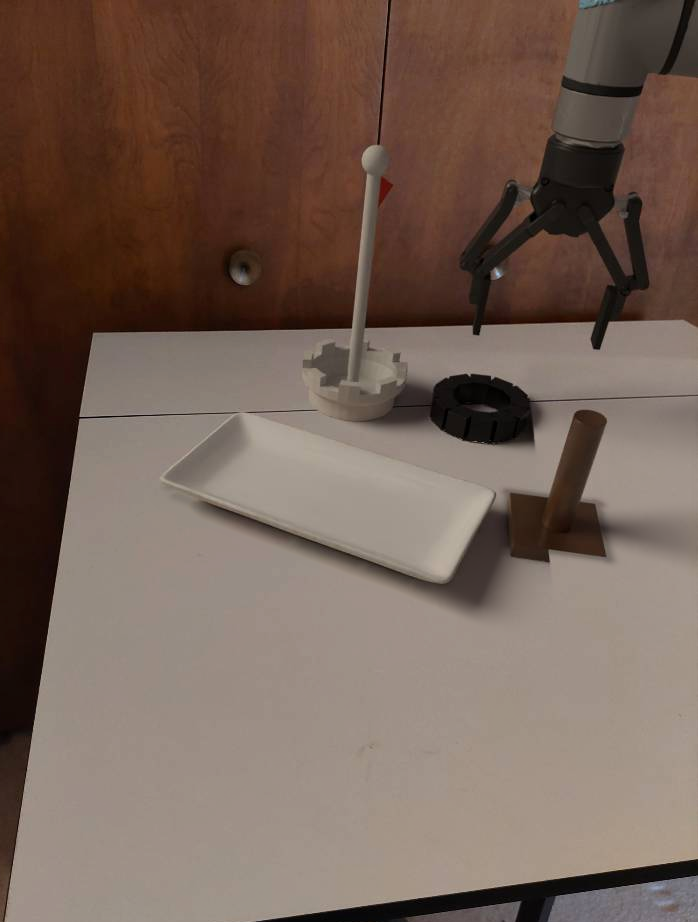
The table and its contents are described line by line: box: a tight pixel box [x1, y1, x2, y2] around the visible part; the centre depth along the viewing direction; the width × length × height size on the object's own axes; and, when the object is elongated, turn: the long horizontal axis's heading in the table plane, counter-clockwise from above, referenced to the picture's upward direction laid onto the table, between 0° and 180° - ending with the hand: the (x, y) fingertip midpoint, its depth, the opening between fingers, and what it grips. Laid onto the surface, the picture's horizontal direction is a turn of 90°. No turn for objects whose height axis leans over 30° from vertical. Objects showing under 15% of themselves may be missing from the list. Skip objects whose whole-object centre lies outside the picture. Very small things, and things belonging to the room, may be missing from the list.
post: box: [506, 409, 608, 562], centre depth 78 cm, size 9×9×14 cm
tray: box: [159, 411, 497, 585], centre depth 83 cm, size 17×31×4 cm, turn 63°
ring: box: [429, 373, 532, 444], centre depth 99 cm, size 12×12×3 cm
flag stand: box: [301, 144, 409, 422], centre depth 93 cm, size 13×13×30 cm
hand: (534, 337), depth 93 cm, fingers open, 13 cm apart
